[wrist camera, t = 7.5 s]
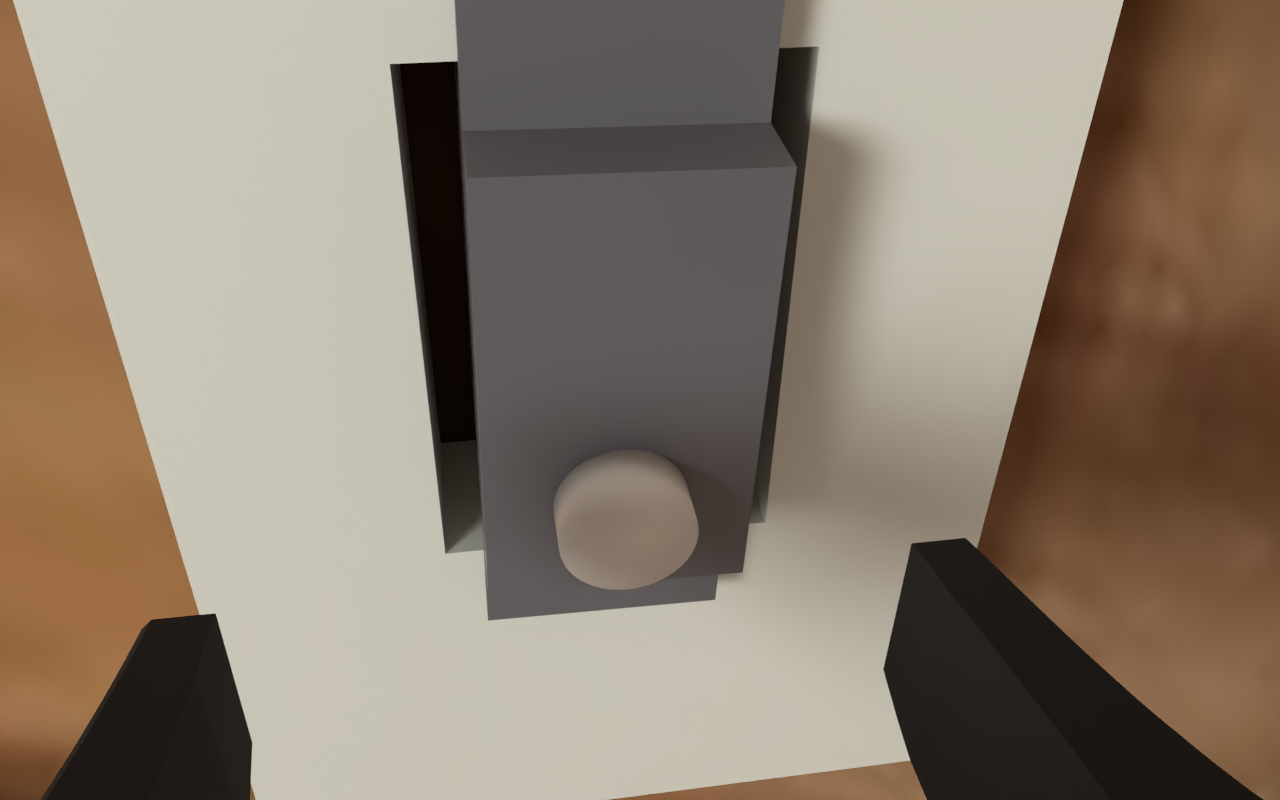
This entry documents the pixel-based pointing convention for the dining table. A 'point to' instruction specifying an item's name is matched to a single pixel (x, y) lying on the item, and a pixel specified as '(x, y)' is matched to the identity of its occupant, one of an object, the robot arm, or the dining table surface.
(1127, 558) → the dining table surface
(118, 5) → the chassis
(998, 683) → the robot arm
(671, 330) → the block
